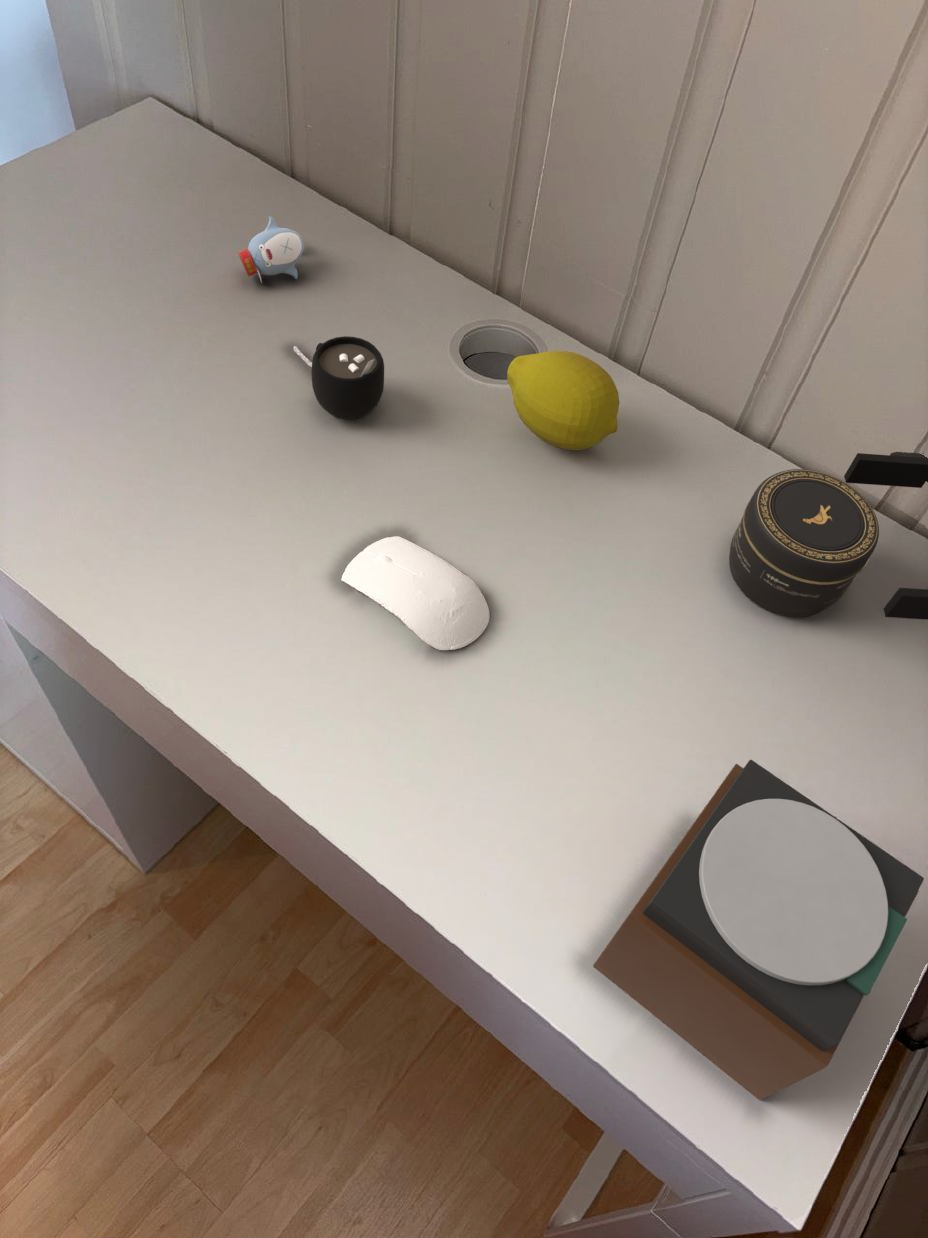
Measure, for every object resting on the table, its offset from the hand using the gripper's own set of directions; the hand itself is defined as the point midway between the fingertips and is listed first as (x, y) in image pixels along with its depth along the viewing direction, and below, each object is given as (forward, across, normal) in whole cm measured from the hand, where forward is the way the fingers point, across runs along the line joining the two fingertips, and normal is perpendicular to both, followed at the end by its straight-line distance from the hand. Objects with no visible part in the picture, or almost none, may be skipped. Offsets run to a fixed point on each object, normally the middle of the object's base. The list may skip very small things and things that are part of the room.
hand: (870, 531), depth 76 cm
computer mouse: (+35, -4, -6) cm, 36 cm away
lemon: (+23, +15, -6) cm, 28 cm away
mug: (+43, +18, -6) cm, 47 cm away
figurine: (+50, +35, -6) cm, 62 cm away
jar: (+5, 0, -6) cm, 8 cm away
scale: (+15, -31, -6) cm, 35 cm away
